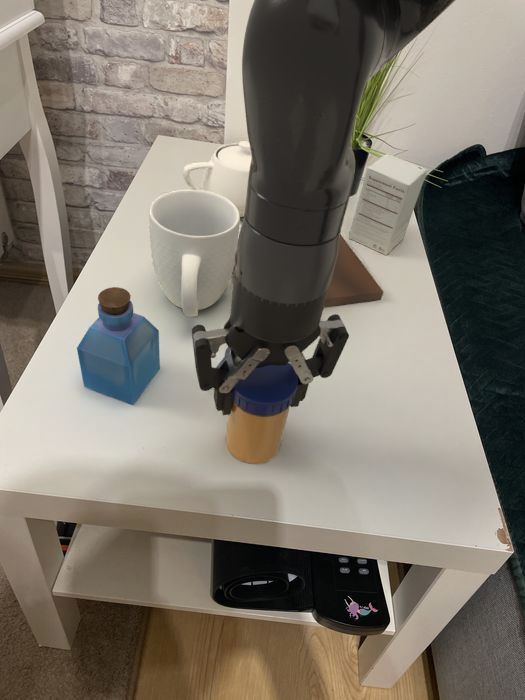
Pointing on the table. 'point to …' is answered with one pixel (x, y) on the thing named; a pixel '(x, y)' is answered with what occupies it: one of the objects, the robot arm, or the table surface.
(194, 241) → the mug
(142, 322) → the perfume bottle
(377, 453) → the table surface
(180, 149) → the table surface
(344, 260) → the board
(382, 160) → the white packaging box
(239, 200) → the teapot
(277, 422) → the jar
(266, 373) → the jar lid
